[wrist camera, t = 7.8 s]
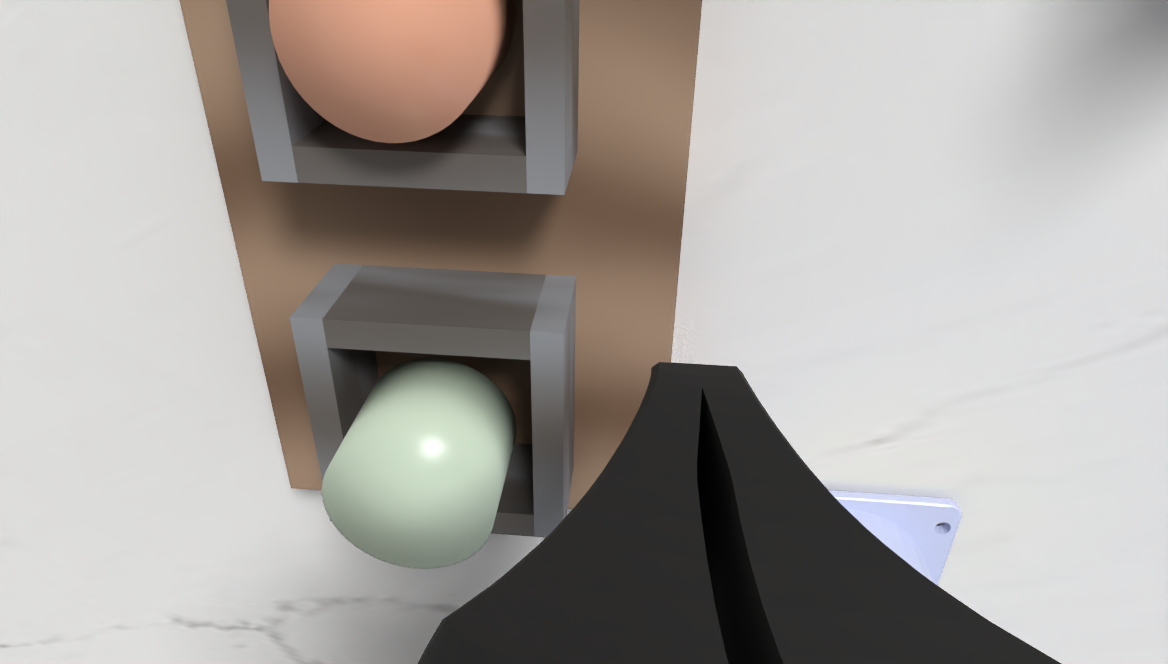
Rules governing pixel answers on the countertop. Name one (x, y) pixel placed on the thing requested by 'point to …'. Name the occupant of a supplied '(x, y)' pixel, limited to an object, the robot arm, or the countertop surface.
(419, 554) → the sage spring button
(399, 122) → the terracotta plunger
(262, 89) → the button panel
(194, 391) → the countertop surface
